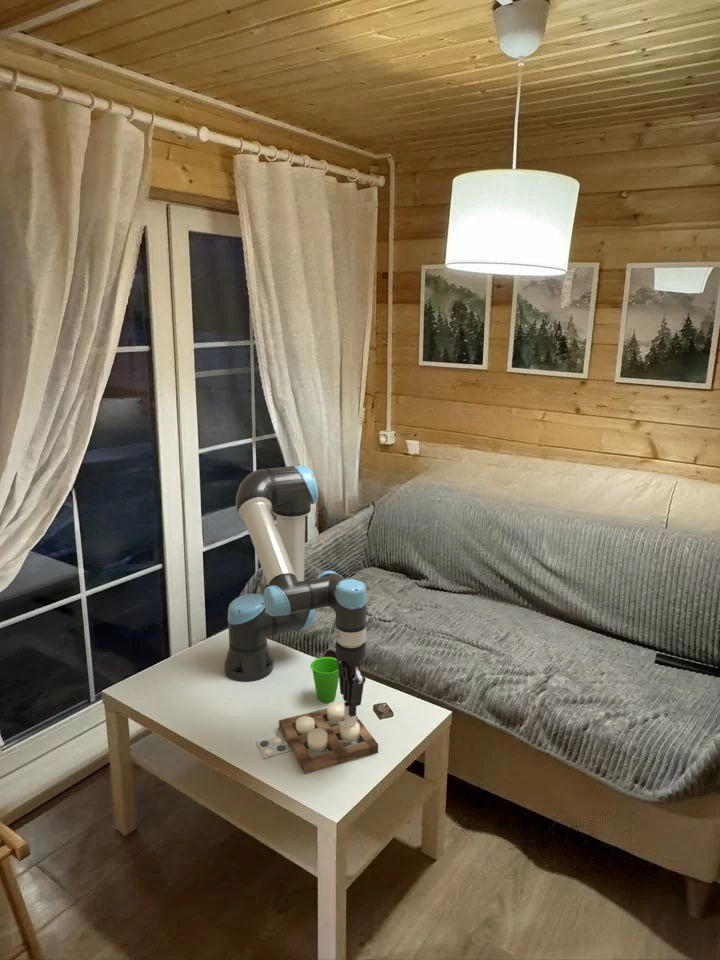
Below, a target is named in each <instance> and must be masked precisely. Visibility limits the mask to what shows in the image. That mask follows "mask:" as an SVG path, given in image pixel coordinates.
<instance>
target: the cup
mask: <svg viewBox="0 0 720 960" xmlns="http://www.w3.org/2000/svg"><path fill="white" fill-rule="evenodd" d="M310 668H311V670H312V675H313V681H314V686H315V687H314V688H315V692H316V693H315V694H316V698H317V701H318V702H320V703H322V704H330V703H332V702H335V700H336V695H337V690H338V685H339V672H338V664H337V659H336V657H332V656H320V657H317V658H316V659H314V660H312V661H311V663H310Z"/></svg>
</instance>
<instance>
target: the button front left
mask: <svg viewBox="0 0 720 960" xmlns="http://www.w3.org/2000/svg"><path fill="white" fill-rule="evenodd" d="M339 725H340V737H341V739H342V740H341V741H344V742H347V743H348V742H349V743H353V742H356V741H359V740H358V739H359V736H360V725H359V723H358V722H357V721H356V725H353V726H349V727H346V726H345V724H344V720H343V721H342V722H340V724H339Z"/></svg>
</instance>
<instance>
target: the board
mask: <svg viewBox="0 0 720 960" xmlns="http://www.w3.org/2000/svg"><path fill="white" fill-rule="evenodd" d="M303 716H308V717H311V718H313V719H314V721H315V729H316V728H319V729H323V730H325V731H326V732H327V747H326V748H325V749H326V750H327V751H326V752H322V753H319V754H315V755H312V756H311V754H310V753H309V751H308V750H310V749H309V748H308V734H304V735H300V736H298V734H297V733H296V720H297V719H298V718H300V717H303ZM356 721H357V722H358V723H359V725H360V736H359V739H358V740H357V741H358V742H356V743H354V744H351V745H347V746H344V745H343V743H341V742H342V741H343V740H342V739H341V737H340V725H341V724H338V725H335V726H330V725H329V723H328V722H330V721H329V720H328V718H327V707H326V708H322V709H319V710H314V711H310V712H306V713H303V714H297V715H295V716H291V717H286V718H284V719H283V718H282V719H279V720H278V729H279V731H280V732H281V734H282V737H283V739H284V741H285V742H286V744H287V746H289V747H288V748H289V750H290V751H291V752H292V755H294V758H295V759H296V761H297V762H298V765H299V766H300V768H301V770H302V771H303V774H304V775H307V774H309V773H313V772H317V771H320V770H325V769H327V768H331V767H333V766H338V765H341V764H344V763H347V762H352V761H355V760H358V759H361V758H365V757H369V756H371V755H375V754H378V753H379V743H378V742H377V741H376V740H375V738H374V737H373V735H372V733H370V731H369V730H368V729H367V728H366V727H365V725H364V723H362V720H360V719H359V717H358V716H357V715H356Z"/></svg>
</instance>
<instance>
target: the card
mask: <svg viewBox="0 0 720 960" xmlns="http://www.w3.org/2000/svg"><path fill="white" fill-rule="evenodd" d="M255 743H256V746H257V748H258V749H259V753H260V754H261V757H262V758H263V760H265V759H269V758H272V757H276V756H279V755H283V754H287V753H290V752H291V749H290V747H288V746H289V745H288V743H287V741H286V740H285V738H284V736H283V734H282V735H277V736H273V737H269V738H266V739H265V738H264V739H261V740H258V741H255Z"/></svg>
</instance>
